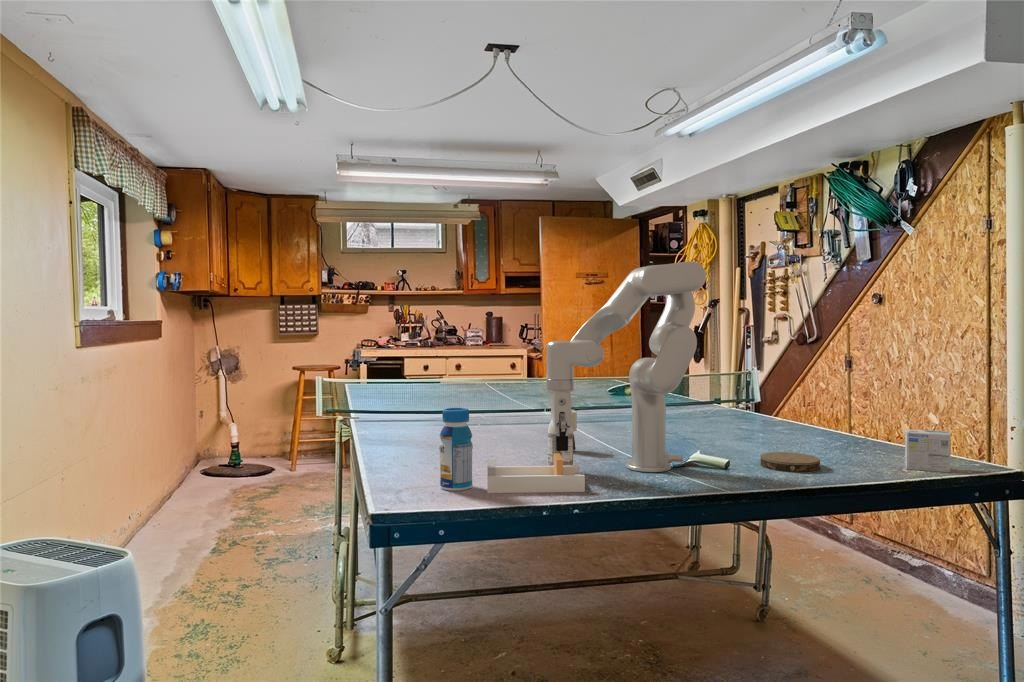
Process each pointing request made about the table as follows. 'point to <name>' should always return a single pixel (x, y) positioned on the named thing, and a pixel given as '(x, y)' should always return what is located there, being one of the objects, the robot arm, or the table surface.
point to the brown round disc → (790, 462)
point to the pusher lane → (533, 479)
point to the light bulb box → (927, 450)
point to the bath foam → (552, 434)
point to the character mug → (574, 425)
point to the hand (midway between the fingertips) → (560, 447)
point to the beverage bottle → (455, 450)
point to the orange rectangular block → (558, 464)
